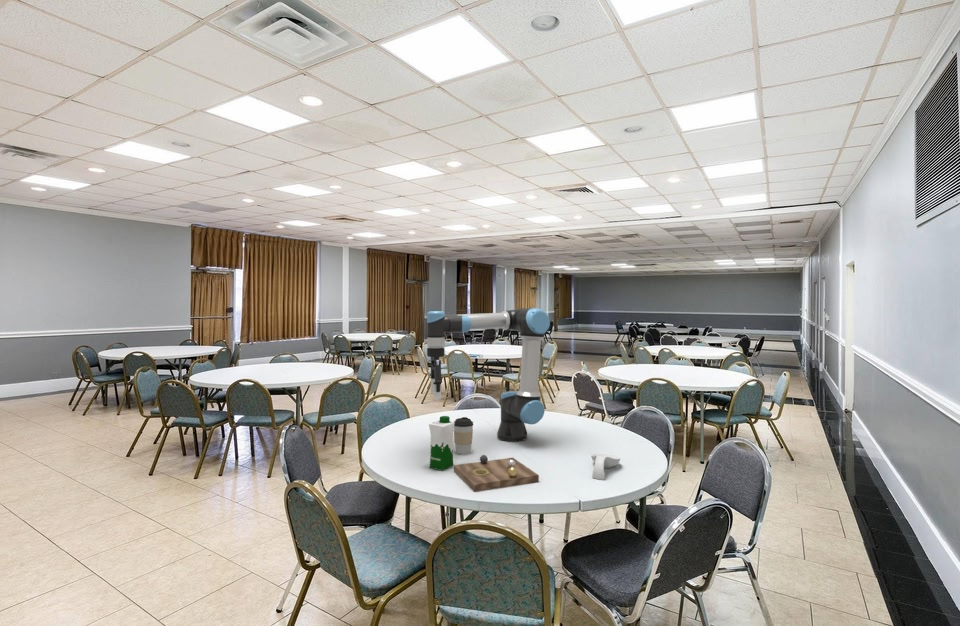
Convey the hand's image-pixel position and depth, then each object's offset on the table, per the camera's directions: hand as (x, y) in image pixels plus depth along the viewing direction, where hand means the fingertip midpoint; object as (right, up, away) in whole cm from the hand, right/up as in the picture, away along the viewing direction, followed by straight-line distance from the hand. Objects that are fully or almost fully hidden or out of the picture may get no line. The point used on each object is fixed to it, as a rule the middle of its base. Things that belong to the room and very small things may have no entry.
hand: (435, 396), depth 205 cm
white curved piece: (+69, -28, -12) cm, 75 cm away
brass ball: (+31, -23, -28) cm, 48 cm away
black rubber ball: (+21, -23, -13) cm, 33 cm away
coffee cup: (+11, -27, +10) cm, 31 cm away
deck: (+25, -27, -21) cm, 42 cm away
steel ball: (+31, -23, -18) cm, 43 cm away
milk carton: (+3, -27, -10) cm, 29 cm away
